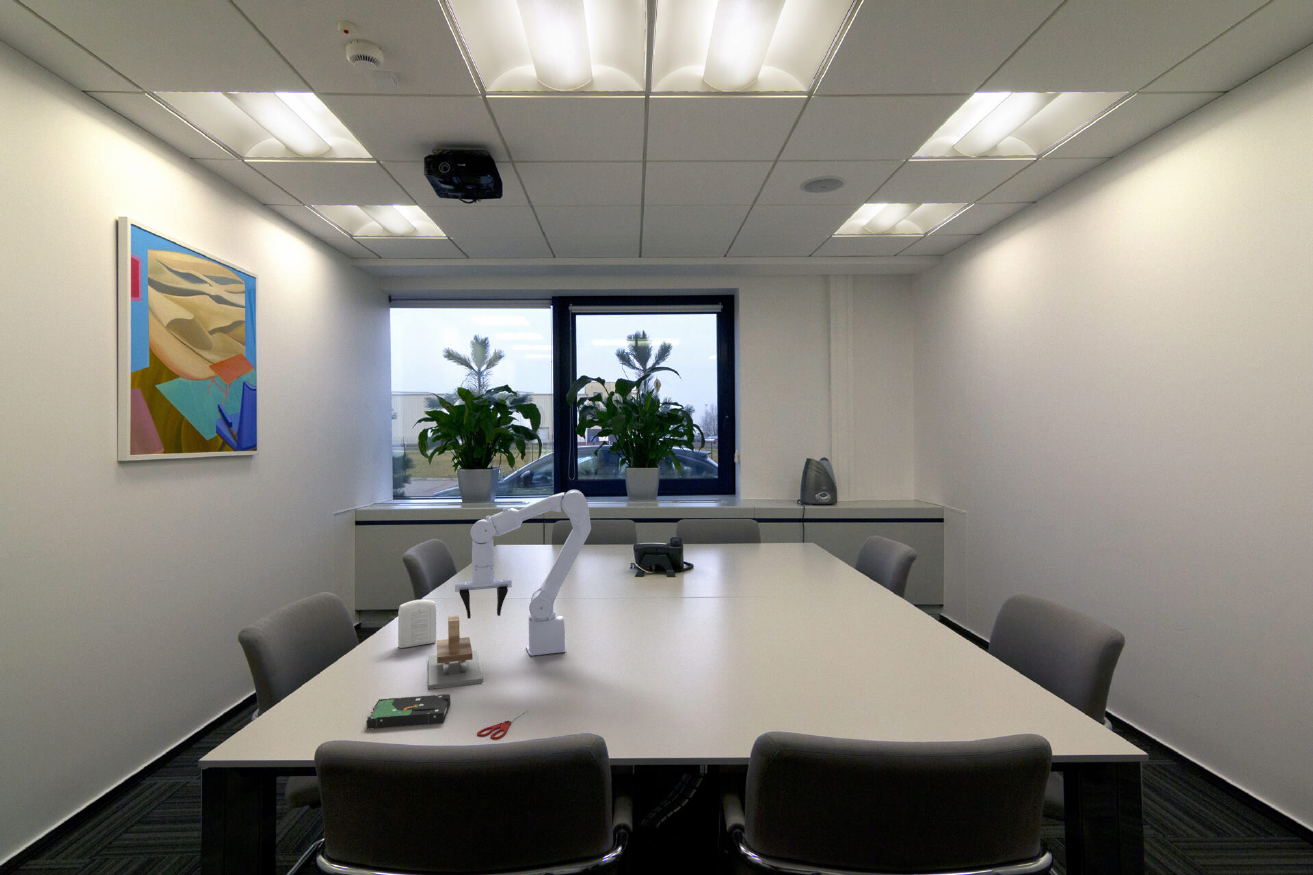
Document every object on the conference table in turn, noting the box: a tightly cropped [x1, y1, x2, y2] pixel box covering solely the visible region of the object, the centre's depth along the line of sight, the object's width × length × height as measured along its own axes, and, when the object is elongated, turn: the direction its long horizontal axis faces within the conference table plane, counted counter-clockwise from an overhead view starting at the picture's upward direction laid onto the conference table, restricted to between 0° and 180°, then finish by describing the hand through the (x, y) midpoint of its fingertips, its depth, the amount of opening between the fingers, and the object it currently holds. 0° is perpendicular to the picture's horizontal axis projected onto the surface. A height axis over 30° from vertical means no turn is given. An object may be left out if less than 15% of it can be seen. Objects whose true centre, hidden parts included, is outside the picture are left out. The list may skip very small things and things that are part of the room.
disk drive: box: [365, 693, 451, 730], centre depth 139 cm, size 10×3×15 cm
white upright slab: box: [397, 599, 437, 649], centre depth 188 cm, size 10×4×12 cm, turn 123°
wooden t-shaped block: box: [436, 614, 473, 664], centre depth 166 cm, size 14×8×8 cm, turn 19°
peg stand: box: [428, 650, 484, 690], centre depth 166 cm, size 12×22×4 cm, turn 19°
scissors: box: [476, 709, 529, 741], centre depth 135 cm, size 5×14×1 cm, turn 157°
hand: (483, 616), depth 179 cm, fingers open, 7 cm apart
